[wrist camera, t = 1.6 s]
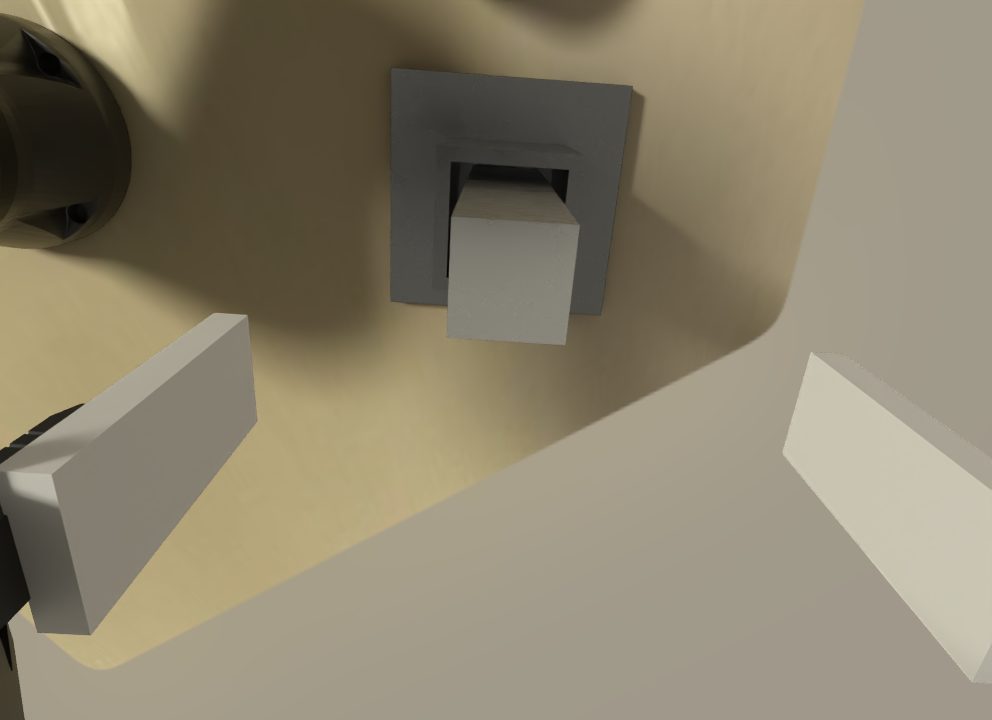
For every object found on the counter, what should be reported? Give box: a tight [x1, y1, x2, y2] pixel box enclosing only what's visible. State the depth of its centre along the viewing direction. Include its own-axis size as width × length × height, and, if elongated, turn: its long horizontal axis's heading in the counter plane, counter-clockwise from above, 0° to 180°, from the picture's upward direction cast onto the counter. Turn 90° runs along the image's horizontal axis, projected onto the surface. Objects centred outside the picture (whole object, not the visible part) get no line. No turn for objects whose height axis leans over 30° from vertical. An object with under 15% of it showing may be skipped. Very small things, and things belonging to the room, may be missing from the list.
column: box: [446, 165, 580, 345], centre depth 33 cm, size 5×5×22 cm
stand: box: [391, 68, 633, 315], centre depth 39 cm, size 16×16×11 cm
